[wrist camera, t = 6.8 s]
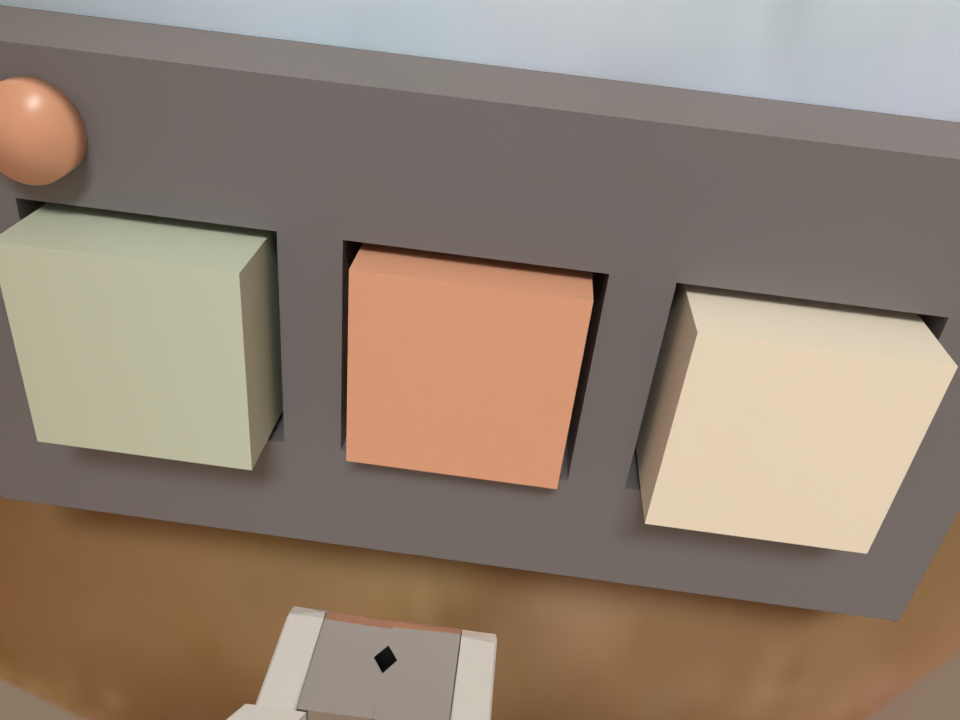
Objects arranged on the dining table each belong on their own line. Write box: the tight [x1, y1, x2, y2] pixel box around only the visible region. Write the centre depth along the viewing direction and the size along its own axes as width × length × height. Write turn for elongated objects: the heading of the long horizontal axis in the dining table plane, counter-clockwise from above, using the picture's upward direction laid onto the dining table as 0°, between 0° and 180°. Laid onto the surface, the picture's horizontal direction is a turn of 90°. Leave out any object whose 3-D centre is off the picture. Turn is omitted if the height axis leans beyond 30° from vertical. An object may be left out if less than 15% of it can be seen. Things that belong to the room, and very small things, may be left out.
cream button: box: [636, 283, 958, 554], centre depth 18 cm, size 5×5×3 cm
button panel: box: [0, 5, 960, 621], centre depth 20 cm, size 24×12×4 cm, turn 84°
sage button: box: [0, 202, 283, 470], centre depth 19 cm, size 5×5×3 cm
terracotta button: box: [346, 243, 593, 489], centre depth 19 cm, size 5×5×3 cm
